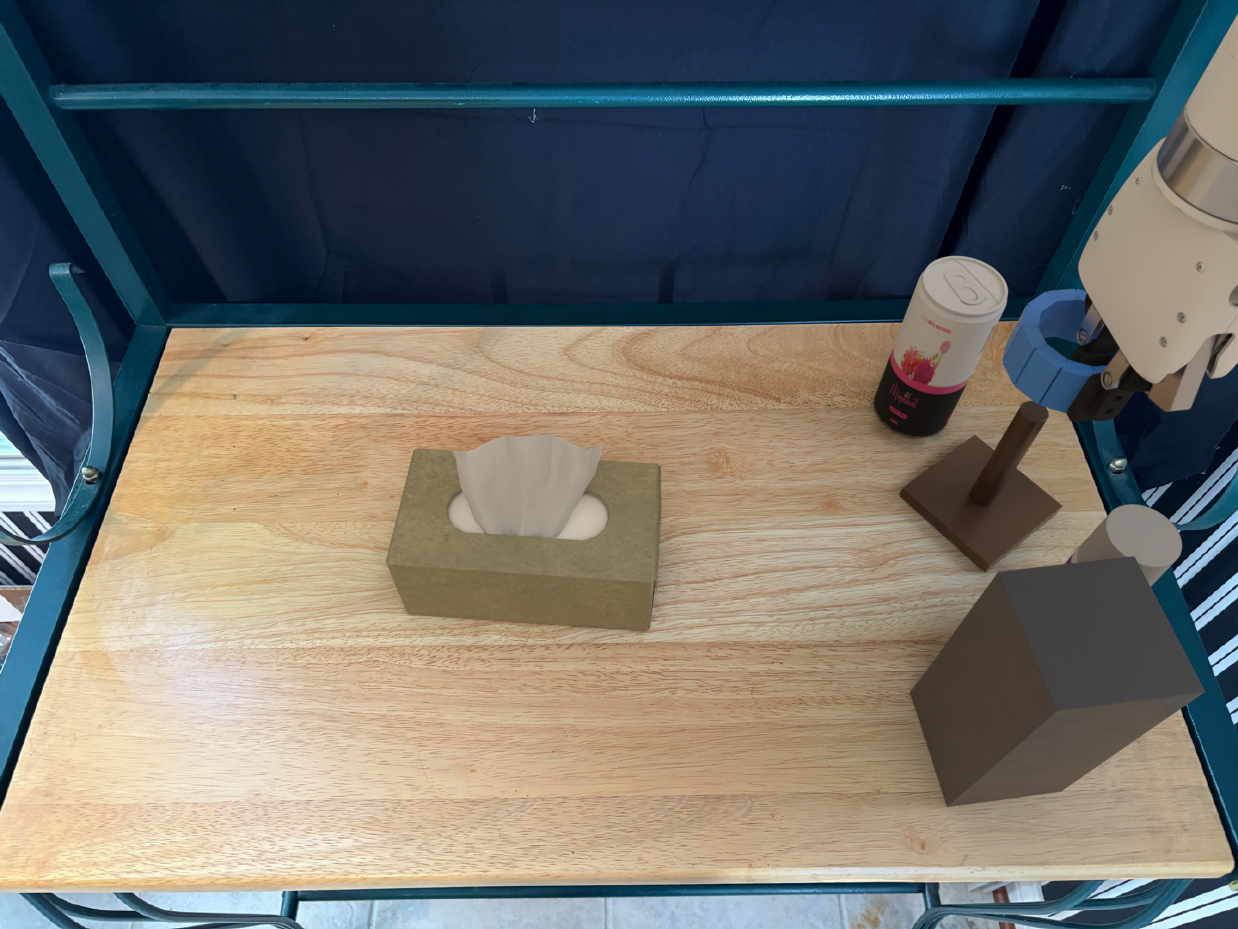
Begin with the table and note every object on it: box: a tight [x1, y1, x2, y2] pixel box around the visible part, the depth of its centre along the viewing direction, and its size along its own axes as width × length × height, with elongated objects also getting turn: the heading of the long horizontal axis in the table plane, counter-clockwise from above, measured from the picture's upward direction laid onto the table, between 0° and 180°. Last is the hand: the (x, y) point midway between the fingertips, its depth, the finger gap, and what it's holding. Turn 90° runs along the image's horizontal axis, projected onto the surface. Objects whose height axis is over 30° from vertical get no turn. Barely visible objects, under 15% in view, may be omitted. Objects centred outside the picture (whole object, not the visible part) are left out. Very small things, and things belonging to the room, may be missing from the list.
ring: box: [1002, 288, 1107, 415], centre depth 59 cm, size 8×8×4 cm
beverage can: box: [873, 255, 1009, 438], centre depth 74 cm, size 7×7×15 cm
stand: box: [898, 400, 1063, 573], centre depth 69 cm, size 9×9×12 cm
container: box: [1064, 503, 1183, 588], centre depth 61 cm, size 5×5×15 cm
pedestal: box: [909, 556, 1206, 808], centre depth 56 cm, size 8×8×18 cm
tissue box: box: [385, 433, 662, 632], centre depth 64 cm, size 19×10×16 cm, turn 86°
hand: (1083, 402), depth 58 cm, fingers closed on ring, 1 cm apart
